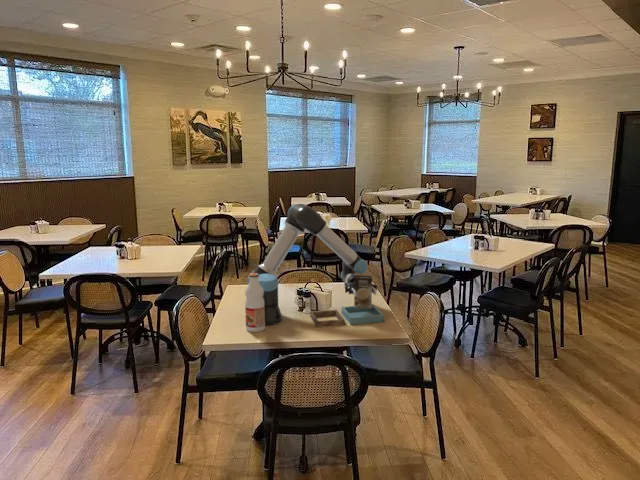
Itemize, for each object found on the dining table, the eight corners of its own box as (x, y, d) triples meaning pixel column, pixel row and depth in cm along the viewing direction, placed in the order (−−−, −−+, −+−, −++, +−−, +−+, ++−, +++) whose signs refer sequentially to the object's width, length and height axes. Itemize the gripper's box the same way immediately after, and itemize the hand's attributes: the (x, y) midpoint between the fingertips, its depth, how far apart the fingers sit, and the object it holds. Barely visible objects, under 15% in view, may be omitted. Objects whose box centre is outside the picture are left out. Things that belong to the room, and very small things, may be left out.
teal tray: (350, 324, 251) (350, 318, 250) (341, 313, 268) (341, 307, 267) (384, 321, 254) (384, 315, 254) (373, 310, 272) (373, 304, 271)
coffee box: (354, 308, 257) (353, 278, 254) (354, 304, 264) (354, 275, 261) (371, 308, 256) (372, 278, 253) (371, 304, 263) (372, 275, 260)
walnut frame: (316, 326, 248) (316, 322, 247) (310, 316, 264) (310, 311, 263) (344, 324, 251) (344, 319, 250) (336, 314, 266) (336, 309, 266)
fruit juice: (265, 332, 242) (263, 276, 236) (245, 332, 241) (243, 276, 236) (265, 325, 251) (263, 271, 246) (246, 326, 250) (244, 271, 245)
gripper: (373, 286, 279) (386, 298, 257) (333, 289, 274) (344, 302, 253) (373, 273, 277) (386, 284, 256) (333, 276, 273) (344, 287, 251)
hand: (365, 293), depth 254 cm, fingers closed on coffee box, 10 cm apart
